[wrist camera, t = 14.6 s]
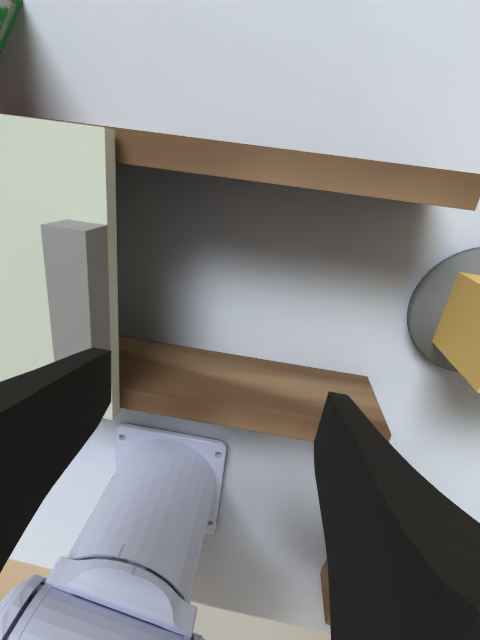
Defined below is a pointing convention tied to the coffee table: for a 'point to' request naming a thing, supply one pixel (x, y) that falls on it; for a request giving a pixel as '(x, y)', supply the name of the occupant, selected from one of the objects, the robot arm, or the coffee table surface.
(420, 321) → the coaster
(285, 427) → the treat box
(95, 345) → the lid
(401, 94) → the coffee table surface
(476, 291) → the ochre block
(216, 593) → the coffee table surface
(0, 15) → the stack of blocks
